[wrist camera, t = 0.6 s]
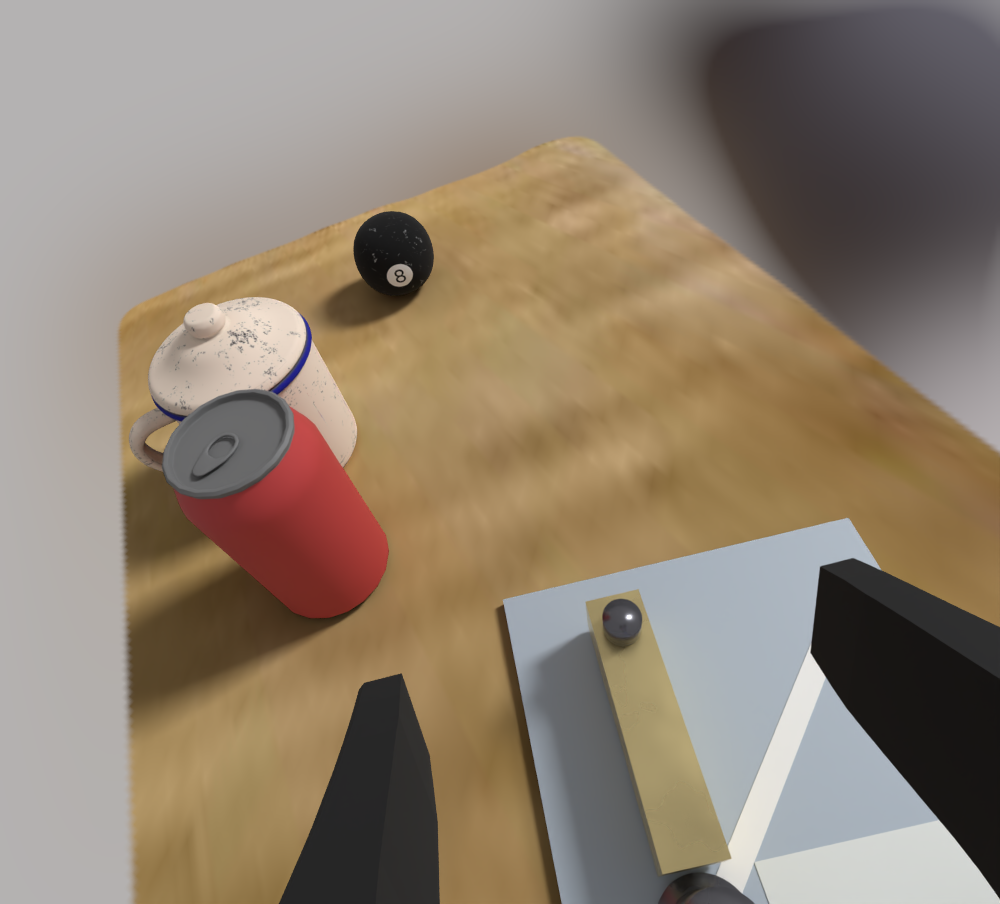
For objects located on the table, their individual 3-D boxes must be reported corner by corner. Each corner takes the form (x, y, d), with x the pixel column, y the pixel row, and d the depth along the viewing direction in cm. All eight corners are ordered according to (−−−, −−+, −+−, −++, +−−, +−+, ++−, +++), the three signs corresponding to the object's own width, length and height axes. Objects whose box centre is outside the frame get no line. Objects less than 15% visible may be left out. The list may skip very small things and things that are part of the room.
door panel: (1157, 1023, 19) (1170, 1026, 19) (609, 1144, 20) (609, 1149, 19) (845, 522, 31) (848, 517, 30) (504, 603, 31) (502, 599, 31)
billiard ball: (374, 319, 47) (346, 253, 42) (365, 275, 50) (338, 210, 46) (448, 297, 47) (428, 229, 42) (433, 254, 51) (414, 187, 46)
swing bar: (720, 862, 23) (737, 856, 19) (658, 877, 23) (664, 873, 19) (636, 614, 29) (639, 577, 25) (587, 626, 29) (583, 590, 26)
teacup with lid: (337, 378, 43) (261, 237, 34) (382, 462, 38) (307, 322, 29) (177, 456, 41) (49, 328, 32) (202, 557, 36) (58, 438, 27)
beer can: (256, 592, 34) (115, 472, 24) (328, 501, 37) (227, 362, 27) (344, 644, 31) (224, 532, 22) (414, 540, 34) (336, 403, 25)
